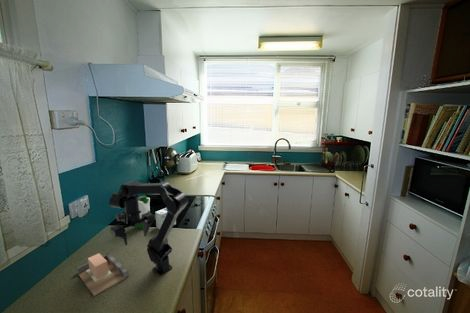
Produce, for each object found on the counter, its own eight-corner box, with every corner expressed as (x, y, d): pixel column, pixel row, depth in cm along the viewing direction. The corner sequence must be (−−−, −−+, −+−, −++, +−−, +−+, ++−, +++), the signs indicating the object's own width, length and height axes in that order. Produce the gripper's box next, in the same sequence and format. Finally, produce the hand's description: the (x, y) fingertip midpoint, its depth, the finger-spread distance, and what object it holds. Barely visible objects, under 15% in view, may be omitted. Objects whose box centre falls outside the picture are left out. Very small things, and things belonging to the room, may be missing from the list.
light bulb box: (170, 221, 140) (169, 205, 139) (176, 224, 136) (175, 208, 134) (155, 227, 132) (154, 211, 130) (161, 230, 128) (160, 214, 126)
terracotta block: (100, 264, 98) (99, 253, 97) (108, 273, 92) (107, 261, 91) (89, 270, 94) (87, 258, 93) (97, 279, 89) (95, 266, 88)
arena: (128, 276, 91) (127, 270, 90) (94, 296, 81) (93, 289, 80) (109, 258, 103) (108, 252, 103) (77, 273, 93) (76, 267, 93)
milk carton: (143, 230, 129) (140, 199, 125) (132, 227, 132) (129, 197, 129) (153, 223, 137) (151, 194, 133) (143, 221, 140) (140, 192, 137)
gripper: (142, 199, 107) (145, 227, 110) (102, 212, 93) (106, 244, 95) (154, 203, 101) (157, 233, 103) (113, 218, 86) (118, 253, 89)
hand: (135, 240), depth 98 cm, fingers open, 9 cm apart
